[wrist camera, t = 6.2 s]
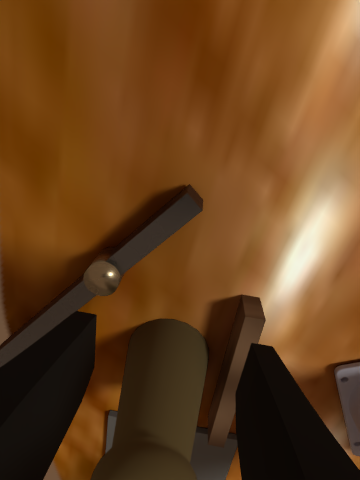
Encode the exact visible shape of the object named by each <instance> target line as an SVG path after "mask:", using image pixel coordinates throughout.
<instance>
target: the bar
mask: <svg viewBox="0 0 360 480" xmlns="http://www.w3.org/2000/svg"><path fill="white" fill-rule="evenodd" d="M202 210H203V199H202V198H201V197H200V196H199V194H198V193H197V192H196V191H195V190H194V189H193V188H192V186H191V185H190V184H189V185H188V186H187V187H186V188H184V189H183V190H182V191H181V192H180V193H179V194H177V195H176V196H175V197H174V198H173V199H172V200H170V201H169V202H168V203H167V204H166V205H164V206H163V207H162V208H161V209H160V210H159V211H157V212H156V213H155V214H154V215H153V216H152V217H150V218H149V219H148V220H147V221H146V222H144V223H143V224H142V225H141V226H140V227H139V228H137V229H136V230H135V231H134V232H133V233H132V234H130V235H129V236H128V237H127V238H126V239H124V240H123V241H122V242H121V243H120V244H119V245H117V246H116V247H107V248H105V249H103V250H102V251H101V252H100V253H99V255H98V256H97V257H96V258H95V260H94V261H93V262H92V264H91V265H90V266H89V267H88V269H87V270H86V271H85V273H84V274H83V275H82V276H81V277H80V278H79V279H77V280H76V281H75V282H74V283H73V284H71V285H70V286H69V287H68V288H67V289H66V290H64V291H63V292H62V293H61V294H60V295H59V296H57V297H56V298H55V299H54V300H53V301H51V302H50V303H49V304H48V305H47V306H46V307H44V308H43V309H42V310H41V311H40V312H39V313H37V314H36V315H35V316H34V317H33V318H31V319H30V320H29V321H28V322H27V323H26V324H24V325H23V326H22V327H21V328H20V329H19V330H17V331H16V332H15V333H14V334H13V335H11V336H10V337H9V338H8V339H7V340H6V341H4V342H3V343H2V344H1V345H0V367H1V366H3V365H4V364H6V363H7V362H8V361H10V360H11V359H13V358H14V357H15V356H17V355H18V354H19V353H21V352H22V351H24V350H25V349H26V348H28V347H29V346H30V345H32V344H33V343H34V342H36V341H37V340H38V339H40V338H41V337H42V336H44V335H45V334H46V333H48V332H49V331H50V330H52V329H53V328H54V327H55V326H57V325H58V324H59V323H61V322H62V321H63V320H64V319H66V318H67V317H68V316H70V315H71V314H72V313H74V312H75V311H77V310H78V309H80V308H81V307H82V306H83V305H85V304H86V303H87V302H88V301H90V300H91V299H92V298H93V297H95V296H96V295H99V296H107V295H110V294H112V293H114V292H115V290H116V289H117V287H118V285H119V283H120V281H121V279H122V277H123V276H124V274H125V272H126V271H127V270H128V269H130V268H131V267H132V266H133V265H135V264H136V263H137V262H138V261H140V260H141V259H142V258H143V257H145V256H146V255H147V254H149V253H150V252H151V251H152V250H154V249H155V248H156V247H157V246H159V245H160V244H161V243H162V242H164V241H165V240H166V239H167V238H169V237H170V236H171V235H172V234H174V233H175V232H176V231H177V230H179V229H180V228H181V227H182V226H184V225H185V224H186V223H187V222H189V221H190V220H191V219H192V218H194V217H195V216H196V215H197V214H199V213H200V212H201V211H202Z"/></svg>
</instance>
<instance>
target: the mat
mask: <svg viewBox="0 0 360 480" xmlns="http://www.w3.org/2000/svg"><path fill="white" fill-rule="evenodd" d="M117 413H118V412H117V411H112V410H110V412H109V415H108V427H107V440H106V453H107V452H108V451H109V450H110V449H111V448H112V443H113V437H114V431H115V425H116V419H117ZM237 446H238V444H237V435H236V434H232V433H228V436H227V439H226V442H225V445H224V448H222V447H217V446H212V445H208V429H206V428H201V427H196V432H195V438H194V443H193V449H192V454H191V460H190V464H191V466H192V468H193V470H194V472H195V474H196V477H197V480H225V479H226V476H227V474H228V471H229V468H230V465H231V462H232V460H233V457H234V454H235V451H236V449H237ZM106 453H105V454H106Z"/></svg>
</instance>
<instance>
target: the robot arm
mask: <svg viewBox="0 0 360 480" xmlns="http://www.w3.org/2000/svg"><path fill="white" fill-rule="evenodd" d="M96 316H97V315H95V314H90V313H84V312H79V311H75V312H74V313H72V314H71V315H70V316H68V317H67V318H66V319H64V320H63V321H62V322H61V323H59V324H58V325H57V326H55V327H54V328H53V329H52V330H50V331H49V332H48V333H46V334H45V335H44V336H42V337H41V338H40V339H38V340H37V341H36V342H34V343H33V344H32V345H30V346H29V347H28V348H26V349H25V350H24V351H22V352H21V353H19V354H18V355H17V356H15V357H14V358H13V359H11V360H10V361H8V362H7V363H6V364H4V365H3V366H1V367H0V480H43V479H44V476H45V475H46V473H47V470H48V469H49V466H50V465H51V462H52V460H53V458H54V456H55V454H56V452H57V450H58V448H59V446H60V444H61V442H62V440H63V438H64V436H65V434H66V432H67V430H68V428H69V426H70V424H71V422H72V420H73V418H74V416H75V414H76V412H77V410H78V408H79V406H80V404H81V402H82V399H83V396H84V394H85V391H86V388H87V386H88V383H89V380H90V377H91V375H92V372H93V369H94V362H95V339H96ZM334 374H335V378H336V383H337V388H338V392H339V397H340V401H341V406H342V411H343V415H344V420H345V425H346V429H347V434H348V438H349V443H350V448H351V451H352V453H353V454H354V455H356V456H360V362H357V363H352V364H346V365H340V366H338V367H336V368H335V370H334ZM343 377H344V378H343ZM235 400H236V435H237V444H238V452H239V460H240V469H241V477H242V480H360V470H359V469H358V468H357V466H356V465H355V464H354V462H353V461H352V460H351V459H350V457H349V456H348V455H347V453H346V452H345V451H344V449H343V448H342V447H341V446H340V444H339V443H338V442H337V440H336V439H335V438H334V436H333V435H332V433H331V432H330V431H329V429H328V428H327V427H326V425H325V424H324V422H323V421H322V419H321V418H320V417H319V415H318V414H317V412H316V411H315V410H314V408H313V407H312V405H311V404H310V402H309V401H308V399H307V398H306V397H305V395H304V394H303V392H302V391H301V389H300V388H299V386H298V385H297V383H296V382H295V380H294V378H293V377H292V375H291V374H290V372H289V371H288V369H287V368H286V366H285V365H284V363H283V362H282V360H281V358H280V357H279V355H278V354H277V352H276V351H275V349H274V348H273V347H272V346H266V345H261V344H255V343H251V345H250V349H249V352H248V355H247V358H246V361H245V364H244V368H243V371H242V374H241V377H240V380H239V383H238V387H237V390H236V393H235Z"/></svg>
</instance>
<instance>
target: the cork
mask: <svg viewBox="0 0 360 480" xmlns="http://www.w3.org/2000/svg"><path fill="white" fill-rule="evenodd" d="M208 360H209V348H208V345H207V343H206V340H205V338H204V337H203V336H202V335H201V334H200V333H199V331H198V330H197V329H195V328H193V327H192V326H190V325H189V324H187V323H184V322H181V321H178V320H174V319H157V320H153V321H149V322H146V323H145V324H143V325H141V326H140V327H138V328H137V329H136V331H135V332H134V333H133V334H132V335H131V339H130V342H129V346H128V352H127V358H126V364H125V370H124V376H123V382H122V388H121V394H120V400H119V407H118V413H117V419H116V425H115V431H114V437H113V443H112V448H111V449H110V450H109V451H108V452H107V453H106V454H105V455H104V456H103V457H102V458H101V459H100V461H99V463H98V464H97V466H96V468H95V469H94V472H93V475H92V478H91V480H197V477H196V474H195V472H194V470H193V468H192V466H191V464H190V460H191V454H192V449H193V443H194V438H195V432H196V427H197V421H198V416H199V410H200V404H201V399H202V393H203V388H204V382H205V377H206V371H207V366H208Z"/></svg>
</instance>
